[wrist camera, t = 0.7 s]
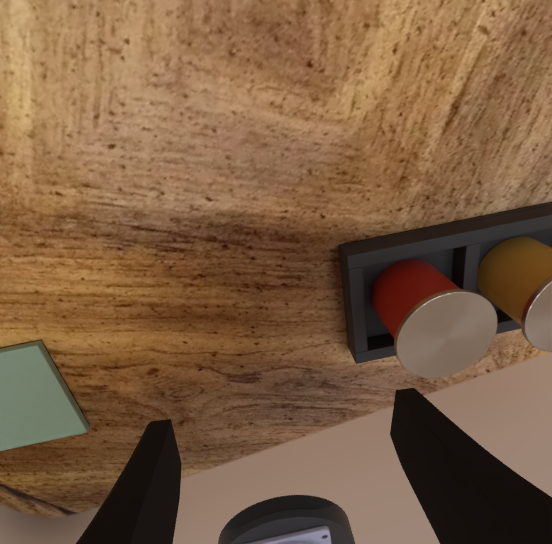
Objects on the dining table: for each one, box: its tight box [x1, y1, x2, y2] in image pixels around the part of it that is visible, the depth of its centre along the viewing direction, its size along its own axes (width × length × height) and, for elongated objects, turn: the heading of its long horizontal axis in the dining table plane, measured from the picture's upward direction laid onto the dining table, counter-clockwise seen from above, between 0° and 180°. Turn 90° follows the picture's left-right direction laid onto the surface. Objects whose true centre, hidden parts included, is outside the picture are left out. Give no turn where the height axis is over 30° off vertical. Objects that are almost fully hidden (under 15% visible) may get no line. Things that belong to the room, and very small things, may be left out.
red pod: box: [371, 259, 497, 378], centre depth 20 cm, size 5×5×5 cm
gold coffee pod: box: [477, 237, 552, 352], centre depth 20 cm, size 5×5×5 cm
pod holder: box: [339, 202, 552, 364], centre depth 21 cm, size 7×14×2 cm, turn 99°
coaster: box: [0, 340, 89, 451], centre depth 22 cm, size 7×7×1 cm
